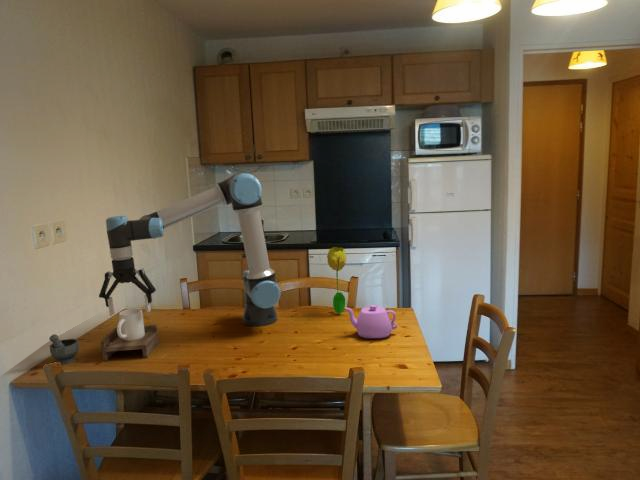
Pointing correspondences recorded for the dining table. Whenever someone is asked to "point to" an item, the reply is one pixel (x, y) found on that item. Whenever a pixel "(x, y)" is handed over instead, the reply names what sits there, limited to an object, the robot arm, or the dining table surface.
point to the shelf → (130, 342)
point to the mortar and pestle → (64, 349)
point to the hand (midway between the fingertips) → (130, 313)
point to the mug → (131, 325)
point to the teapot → (373, 322)
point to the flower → (337, 263)
